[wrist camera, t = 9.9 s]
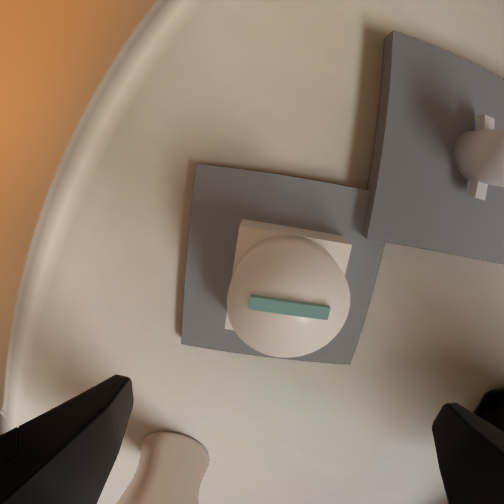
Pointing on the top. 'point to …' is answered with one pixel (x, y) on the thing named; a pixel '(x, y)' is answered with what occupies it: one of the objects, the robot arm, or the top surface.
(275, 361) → the top surface
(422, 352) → the top surface
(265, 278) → the cream domed square block
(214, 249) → the mat
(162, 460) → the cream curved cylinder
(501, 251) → the plinth
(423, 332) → the top surface
